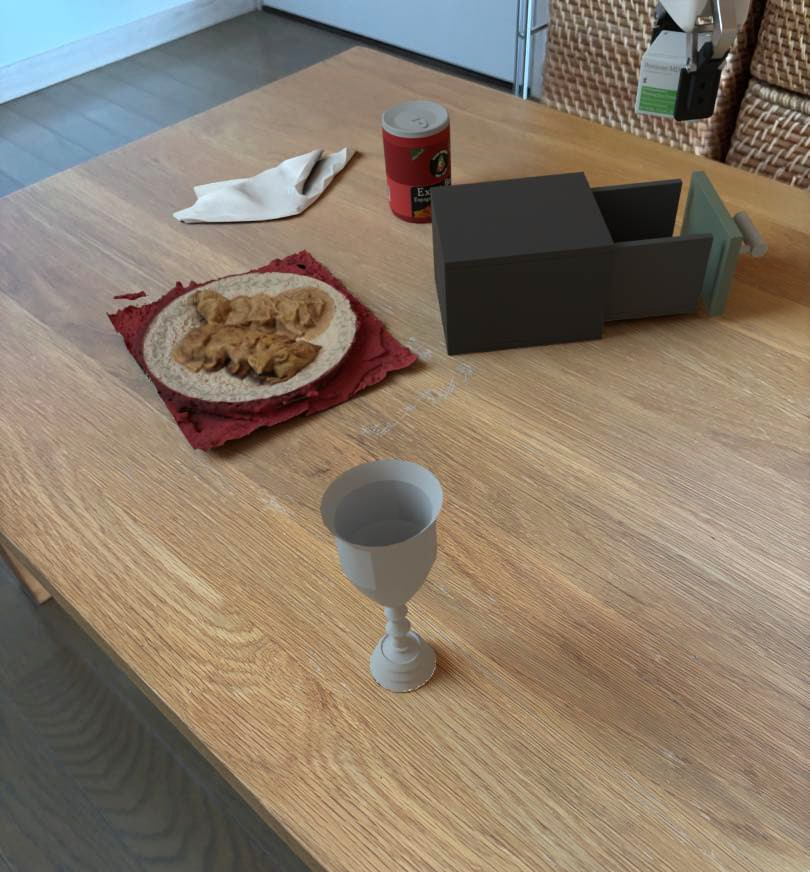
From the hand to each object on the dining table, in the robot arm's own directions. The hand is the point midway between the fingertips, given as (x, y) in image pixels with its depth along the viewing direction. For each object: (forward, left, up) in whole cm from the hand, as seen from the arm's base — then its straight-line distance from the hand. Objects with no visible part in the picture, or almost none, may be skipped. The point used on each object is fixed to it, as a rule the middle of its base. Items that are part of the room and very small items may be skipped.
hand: (678, 95), depth 74 cm
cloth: (+39, -30, -21) cm, 54 cm away
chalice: (+28, +41, -21) cm, 54 cm away
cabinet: (+13, -1, -21) cm, 25 cm away
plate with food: (+40, +1, -21) cm, 45 cm away
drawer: (-2, -1, -20) cm, 20 cm away
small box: (0, 0, -1) cm, 1 cm away
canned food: (+21, -23, -21) cm, 38 cm away
